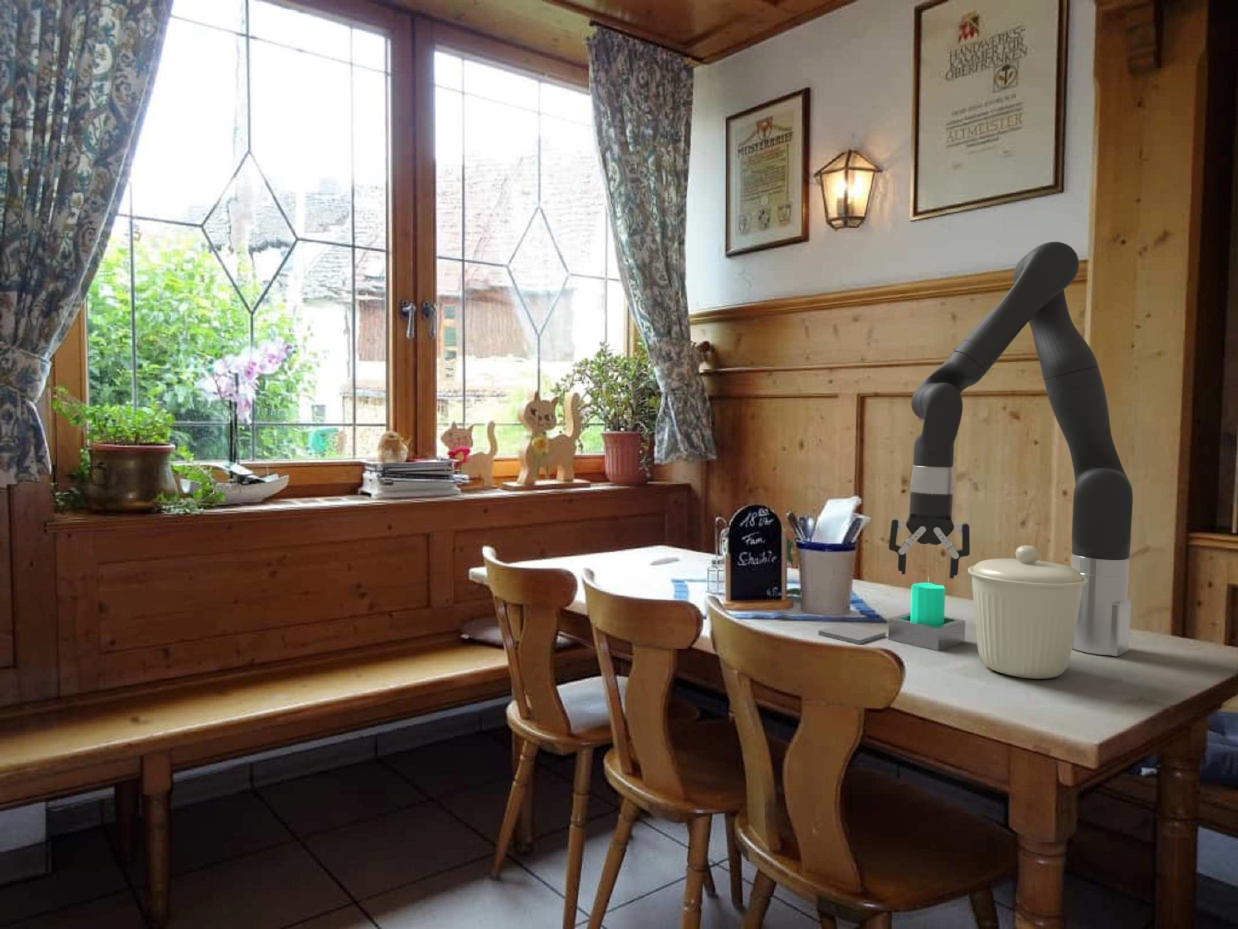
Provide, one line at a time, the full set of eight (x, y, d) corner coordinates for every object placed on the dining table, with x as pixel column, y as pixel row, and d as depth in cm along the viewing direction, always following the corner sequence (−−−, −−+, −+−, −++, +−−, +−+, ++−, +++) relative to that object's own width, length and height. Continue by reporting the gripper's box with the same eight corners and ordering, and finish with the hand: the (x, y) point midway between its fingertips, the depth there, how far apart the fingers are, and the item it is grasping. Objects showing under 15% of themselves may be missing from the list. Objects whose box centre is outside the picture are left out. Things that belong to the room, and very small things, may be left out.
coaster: (885, 636, 166) (885, 632, 166) (859, 644, 160) (859, 640, 160) (845, 627, 172) (845, 623, 172) (818, 634, 166) (818, 630, 166)
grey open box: (964, 641, 163) (965, 620, 162) (937, 650, 156) (938, 629, 156) (915, 630, 170) (916, 610, 170) (888, 639, 163) (888, 618, 163)
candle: (930, 646, 159) (933, 582, 158) (903, 639, 164) (905, 576, 163) (949, 641, 162) (952, 578, 162) (922, 634, 167) (924, 573, 166)
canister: (1078, 695, 132) (1084, 558, 131) (954, 674, 142) (959, 547, 141) (1087, 666, 148) (1093, 544, 146) (974, 649, 157) (979, 534, 156)
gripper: (971, 490, 163) (966, 575, 164) (892, 486, 167) (888, 569, 169) (973, 494, 156) (968, 583, 157) (891, 489, 160) (886, 576, 161)
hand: (927, 575), depth 163 cm, fingers open, 8 cm apart
